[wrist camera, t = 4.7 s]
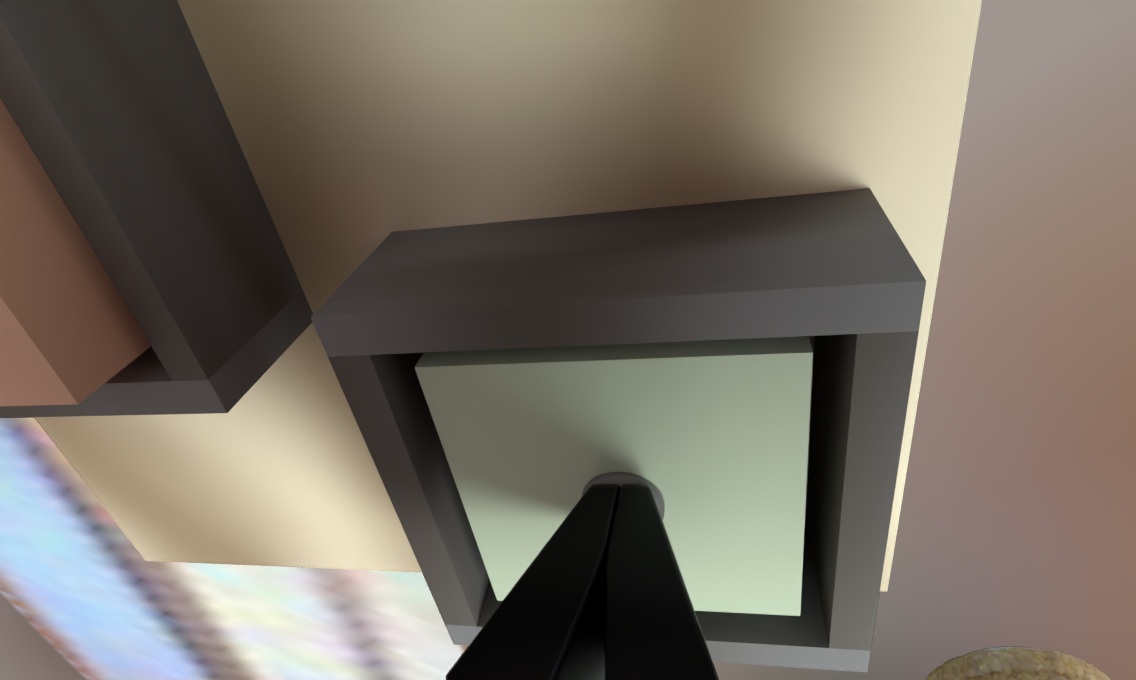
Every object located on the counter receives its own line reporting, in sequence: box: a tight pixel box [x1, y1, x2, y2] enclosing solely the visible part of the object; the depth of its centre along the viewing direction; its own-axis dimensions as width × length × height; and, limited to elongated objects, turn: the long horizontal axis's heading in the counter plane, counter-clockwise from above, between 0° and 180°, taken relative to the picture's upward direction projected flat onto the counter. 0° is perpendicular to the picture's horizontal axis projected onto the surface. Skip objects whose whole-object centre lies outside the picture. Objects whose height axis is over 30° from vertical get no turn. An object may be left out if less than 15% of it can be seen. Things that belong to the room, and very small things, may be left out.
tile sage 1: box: [414, 336, 813, 616], centre depth 10 cm, size 5×5×2 cm
